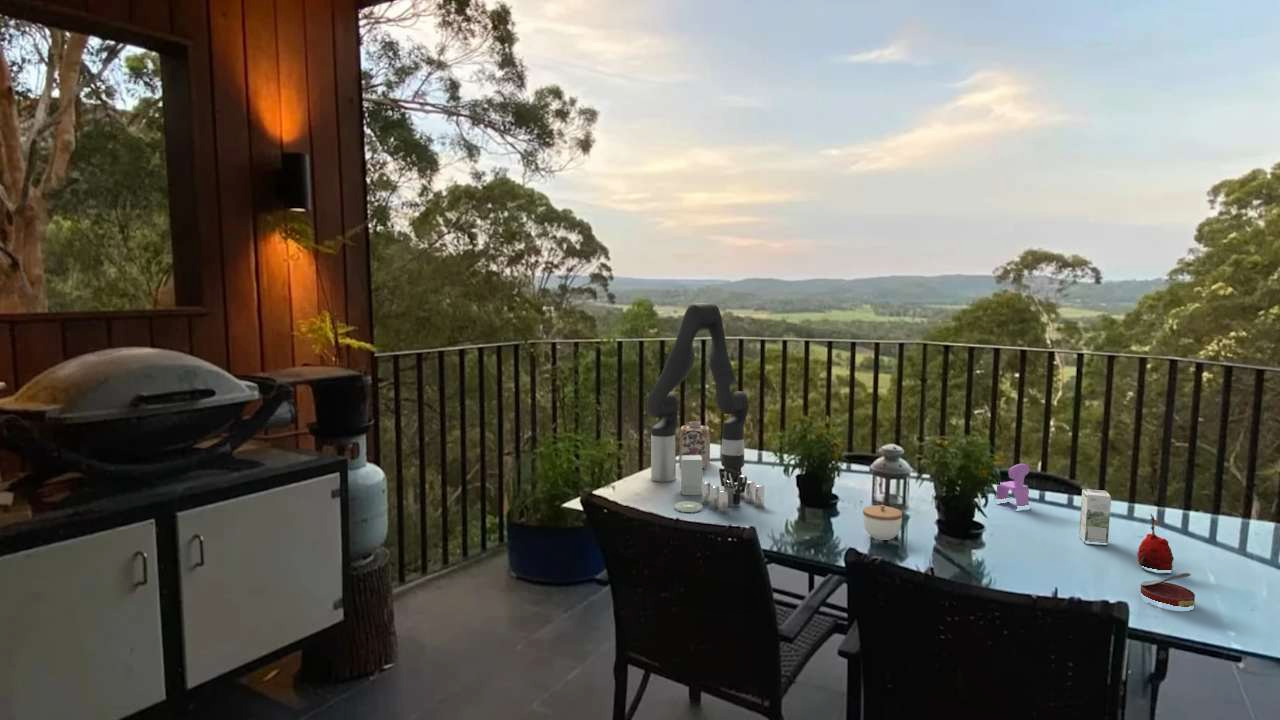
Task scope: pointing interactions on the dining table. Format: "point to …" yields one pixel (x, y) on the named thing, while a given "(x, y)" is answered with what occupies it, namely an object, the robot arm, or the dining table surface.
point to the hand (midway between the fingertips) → (732, 502)
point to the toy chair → (1015, 485)
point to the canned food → (1168, 592)
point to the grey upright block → (730, 496)
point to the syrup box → (1095, 515)
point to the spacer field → (721, 496)
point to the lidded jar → (882, 521)
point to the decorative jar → (695, 442)
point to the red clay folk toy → (1155, 551)
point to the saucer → (688, 506)
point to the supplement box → (691, 474)
